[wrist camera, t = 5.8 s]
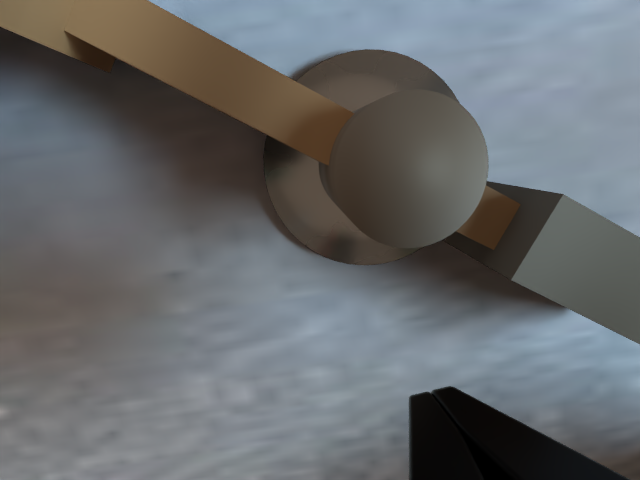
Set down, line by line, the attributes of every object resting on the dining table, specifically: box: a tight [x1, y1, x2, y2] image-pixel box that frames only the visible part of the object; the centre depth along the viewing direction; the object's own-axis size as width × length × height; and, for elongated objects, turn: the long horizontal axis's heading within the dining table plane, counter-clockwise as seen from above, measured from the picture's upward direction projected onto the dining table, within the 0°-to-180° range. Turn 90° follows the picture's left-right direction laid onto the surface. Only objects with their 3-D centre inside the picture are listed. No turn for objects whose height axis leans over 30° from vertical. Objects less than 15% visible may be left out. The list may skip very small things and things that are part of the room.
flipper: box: [0, 0, 640, 344], centre depth 9 cm, size 22×3×4 cm, turn 63°
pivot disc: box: [264, 50, 460, 265], centre depth 11 cm, size 6×6×1 cm
